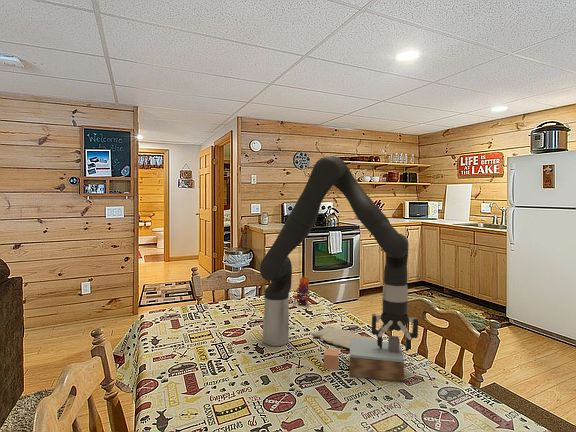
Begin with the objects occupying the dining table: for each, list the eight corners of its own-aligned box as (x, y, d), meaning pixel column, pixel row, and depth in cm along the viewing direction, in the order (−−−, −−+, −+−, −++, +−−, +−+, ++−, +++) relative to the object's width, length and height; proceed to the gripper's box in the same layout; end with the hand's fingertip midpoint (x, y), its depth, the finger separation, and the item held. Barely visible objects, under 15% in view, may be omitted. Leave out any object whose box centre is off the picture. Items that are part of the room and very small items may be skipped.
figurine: (291, 307, 171) (291, 277, 170) (294, 302, 180) (294, 273, 179) (308, 309, 170) (309, 278, 169) (310, 303, 179) (311, 274, 178)
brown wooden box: (349, 376, 108) (349, 357, 107) (350, 358, 119) (350, 341, 119) (403, 382, 104) (404, 363, 104) (399, 363, 116) (399, 345, 116)
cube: (323, 368, 113) (323, 354, 113) (325, 361, 117) (325, 348, 117) (337, 369, 112) (337, 356, 112) (338, 362, 116) (338, 349, 116)
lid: (349, 357, 107) (349, 341, 107) (350, 340, 119) (351, 327, 119) (404, 362, 104) (404, 346, 104) (399, 345, 116) (400, 331, 115)
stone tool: (310, 340, 136) (368, 359, 119) (310, 330, 135) (368, 347, 119) (328, 331, 145) (385, 347, 129) (328, 322, 145) (385, 336, 129)
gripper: (371, 299, 107) (370, 351, 108) (421, 302, 104) (419, 356, 105) (371, 292, 114) (370, 341, 115) (417, 295, 111) (415, 345, 112)
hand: (393, 348), depth 110 cm, fingers open, 7 cm apart
